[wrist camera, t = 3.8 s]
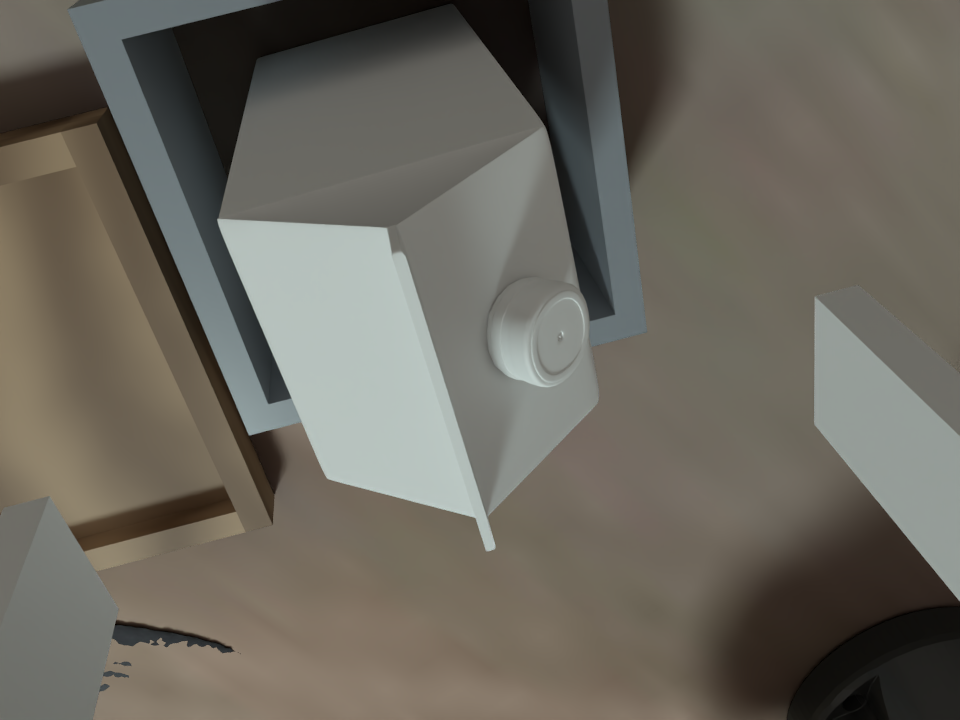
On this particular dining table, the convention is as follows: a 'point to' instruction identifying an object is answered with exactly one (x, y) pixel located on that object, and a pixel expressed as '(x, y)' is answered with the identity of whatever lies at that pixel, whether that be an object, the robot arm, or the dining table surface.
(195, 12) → the bin
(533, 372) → the milk carton
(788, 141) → the dining table surface
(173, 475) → the tray
